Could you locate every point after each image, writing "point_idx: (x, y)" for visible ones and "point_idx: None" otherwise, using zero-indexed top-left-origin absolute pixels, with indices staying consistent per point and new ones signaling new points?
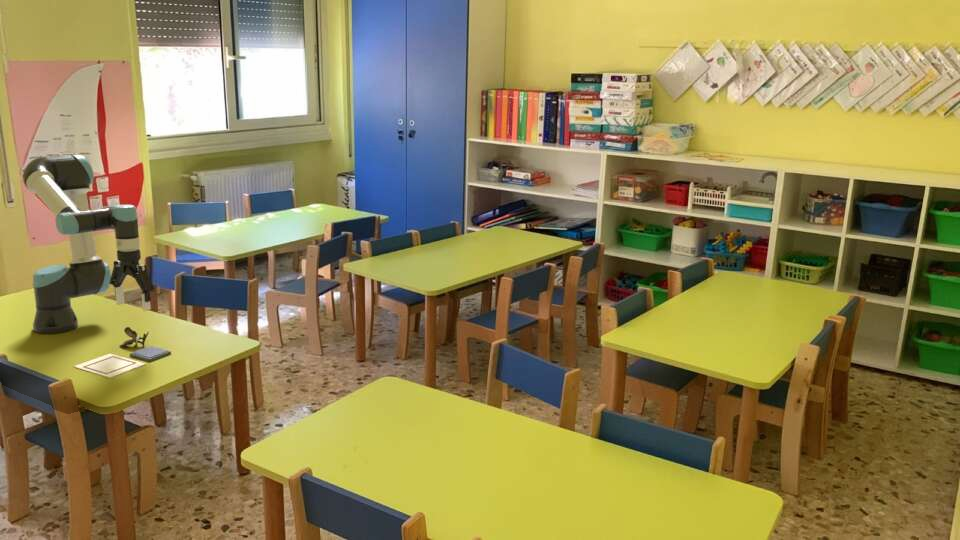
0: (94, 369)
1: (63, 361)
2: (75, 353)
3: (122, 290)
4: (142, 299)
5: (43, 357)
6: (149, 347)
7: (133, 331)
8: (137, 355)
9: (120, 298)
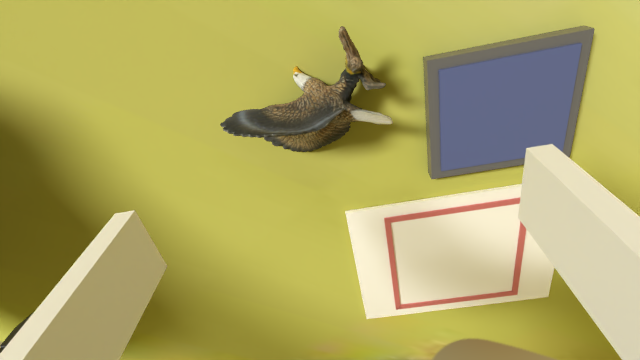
0: (449, 300)
1: (292, 315)
2: (242, 273)
3: (45, 352)
4: (610, 324)
5: (215, 332)
6: (448, 84)
7: (322, 127)
8: (483, 170)
9: (124, 291)
